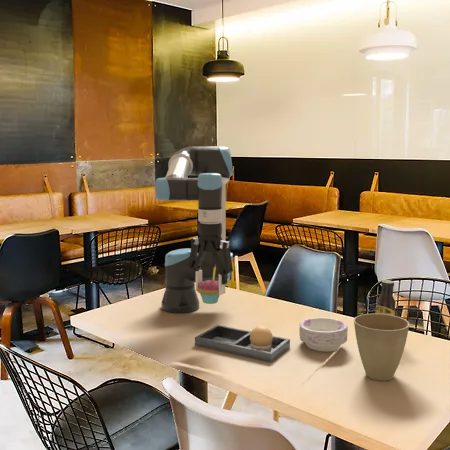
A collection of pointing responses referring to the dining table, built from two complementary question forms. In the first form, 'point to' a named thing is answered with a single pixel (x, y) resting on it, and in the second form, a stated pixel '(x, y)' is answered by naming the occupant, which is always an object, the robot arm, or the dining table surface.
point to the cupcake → (209, 290)
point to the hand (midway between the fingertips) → (210, 291)
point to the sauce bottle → (386, 299)
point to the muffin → (261, 338)
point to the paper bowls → (323, 333)
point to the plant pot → (380, 343)
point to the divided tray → (239, 343)
